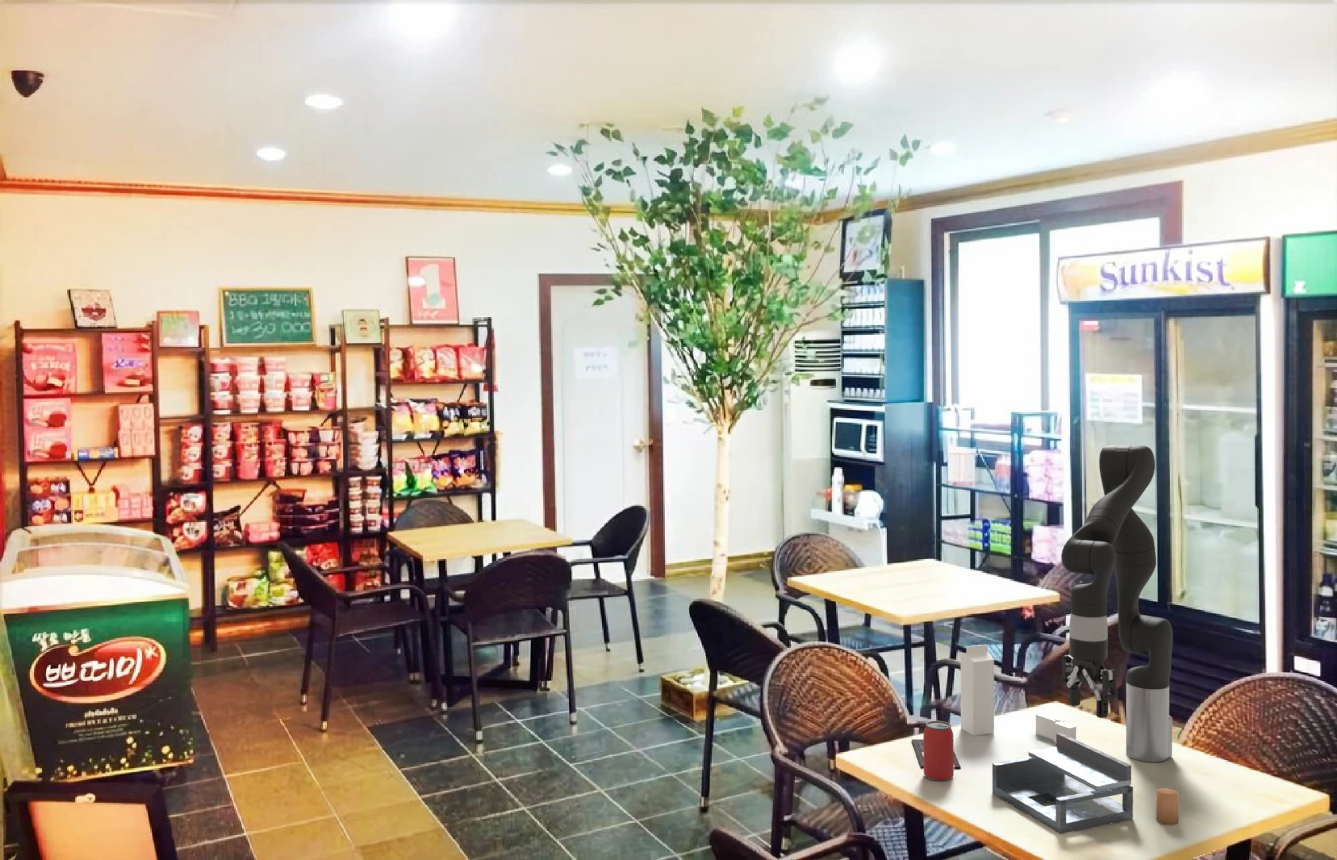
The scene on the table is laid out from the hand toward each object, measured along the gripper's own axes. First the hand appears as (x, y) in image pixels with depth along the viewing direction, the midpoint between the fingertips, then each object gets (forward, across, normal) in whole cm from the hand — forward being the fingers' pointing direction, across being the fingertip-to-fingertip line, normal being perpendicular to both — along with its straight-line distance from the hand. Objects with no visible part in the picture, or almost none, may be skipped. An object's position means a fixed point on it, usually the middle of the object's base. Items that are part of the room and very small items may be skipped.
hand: (1088, 711), depth 233 cm
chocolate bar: (+21, +37, +14) cm, 45 cm away
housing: (+20, +1, +6) cm, 21 cm away
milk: (+20, +48, -4) cm, 52 cm away
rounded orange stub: (+20, -12, -10) cm, 25 cm away
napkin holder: (+21, +35, -18) cm, 44 cm away
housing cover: (+13, +1, +1) cm, 13 cm away
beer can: (+20, +25, +21) cm, 38 cm away
